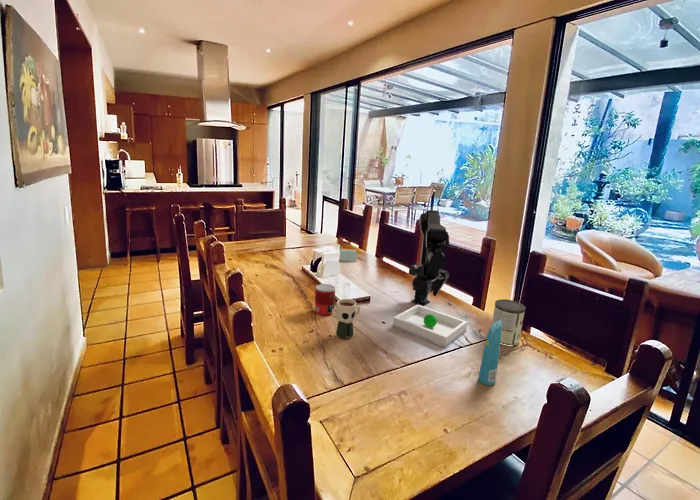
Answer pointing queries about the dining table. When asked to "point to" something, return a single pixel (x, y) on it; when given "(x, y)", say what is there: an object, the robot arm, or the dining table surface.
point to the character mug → (345, 317)
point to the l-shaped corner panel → (347, 255)
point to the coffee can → (509, 320)
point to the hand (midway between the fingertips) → (428, 299)
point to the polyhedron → (430, 320)
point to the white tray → (439, 334)
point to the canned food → (324, 299)
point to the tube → (491, 355)
